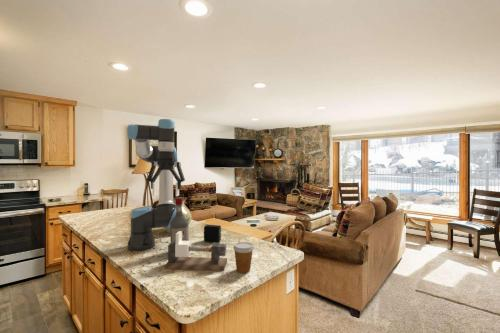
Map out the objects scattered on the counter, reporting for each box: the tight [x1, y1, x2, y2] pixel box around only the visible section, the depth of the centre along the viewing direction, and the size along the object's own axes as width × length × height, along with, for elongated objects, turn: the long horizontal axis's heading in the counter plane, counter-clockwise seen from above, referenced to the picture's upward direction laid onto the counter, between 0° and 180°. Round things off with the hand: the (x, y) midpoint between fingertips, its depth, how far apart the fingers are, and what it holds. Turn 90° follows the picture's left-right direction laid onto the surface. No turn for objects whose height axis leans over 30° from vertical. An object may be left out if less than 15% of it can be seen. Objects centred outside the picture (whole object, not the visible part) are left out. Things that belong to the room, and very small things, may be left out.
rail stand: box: [165, 241, 228, 272], centre depth 121 cm, size 28×10×10 cm, turn 87°
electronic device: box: [203, 224, 222, 244], centre depth 158 cm, size 4×10×10 cm, turn 78°
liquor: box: [169, 197, 190, 243], centre depth 138 cm, size 9×9×30 cm
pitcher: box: [162, 197, 192, 234], centre depth 180 cm, size 22×24×25 cm
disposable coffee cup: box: [233, 241, 254, 274], centre depth 116 cm, size 10×10×12 cm
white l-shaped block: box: [175, 231, 192, 257], centre depth 121 cm, size 6×6×11 cm
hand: (165, 195), depth 121 cm, fingers open, 11 cm apart
